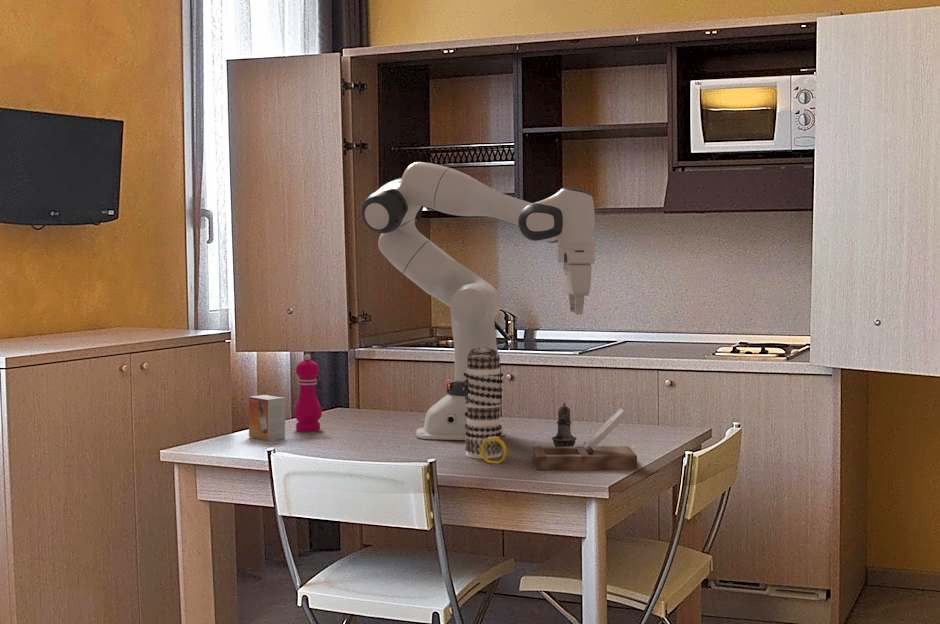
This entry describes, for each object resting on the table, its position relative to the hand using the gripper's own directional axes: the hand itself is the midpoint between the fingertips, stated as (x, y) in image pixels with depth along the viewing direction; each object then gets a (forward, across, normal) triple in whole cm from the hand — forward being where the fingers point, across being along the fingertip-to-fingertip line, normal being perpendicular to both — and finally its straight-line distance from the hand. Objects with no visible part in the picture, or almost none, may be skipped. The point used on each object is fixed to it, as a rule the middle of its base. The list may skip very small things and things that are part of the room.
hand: (576, 313), depth 290 cm
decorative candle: (+32, +10, -23) cm, 41 cm away
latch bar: (+25, +22, +4) cm, 34 cm away
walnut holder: (+32, +22, -1) cm, 39 cm away
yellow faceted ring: (+33, +19, -21) cm, 43 cm away
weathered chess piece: (+33, +8, -4) cm, 34 cm away
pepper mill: (+32, -28, -67) cm, 80 cm away
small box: (+32, -16, -76) cm, 85 cm away
